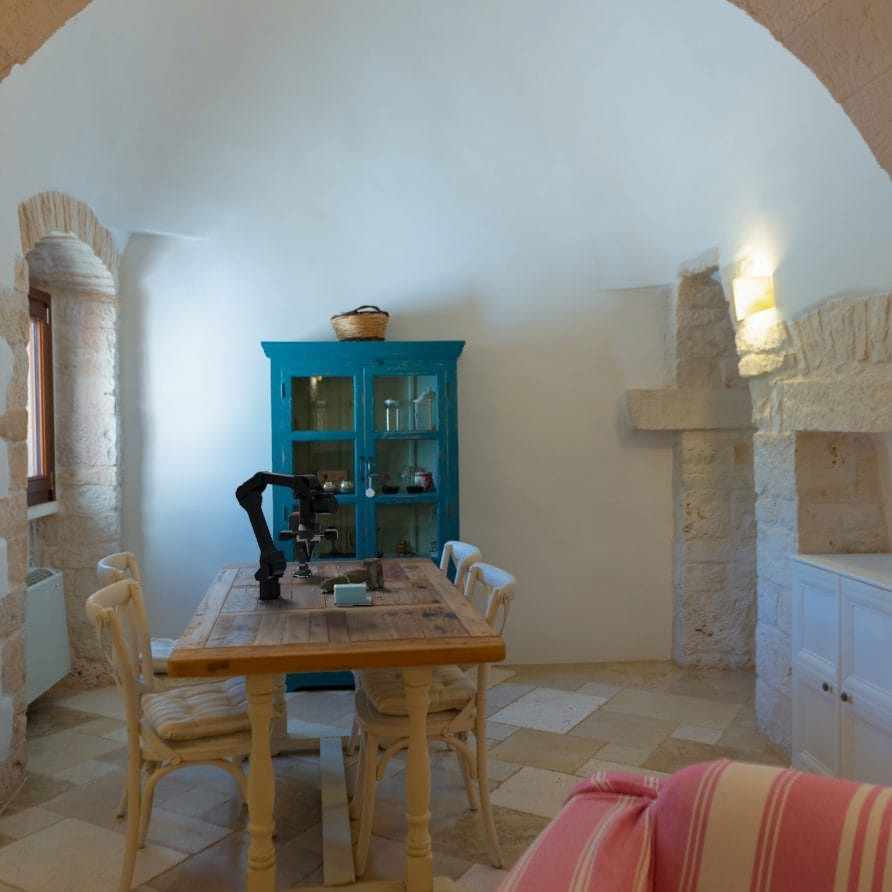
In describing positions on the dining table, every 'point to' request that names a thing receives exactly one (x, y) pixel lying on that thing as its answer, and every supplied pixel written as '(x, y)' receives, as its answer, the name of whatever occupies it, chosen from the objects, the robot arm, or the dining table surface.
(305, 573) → the toy robot
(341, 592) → the teal block
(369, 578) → the sculpture
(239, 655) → the dining table surface
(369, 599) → the felt mat
